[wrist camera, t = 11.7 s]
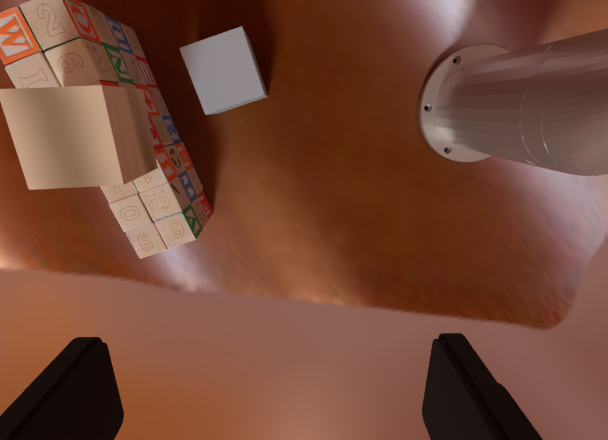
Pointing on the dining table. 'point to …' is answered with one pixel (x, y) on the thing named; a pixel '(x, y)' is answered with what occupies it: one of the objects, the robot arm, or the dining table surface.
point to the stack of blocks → (119, 73)
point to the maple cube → (80, 135)
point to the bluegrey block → (224, 71)
